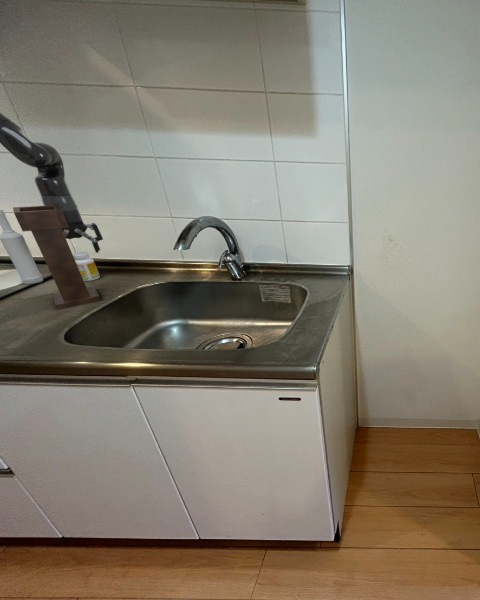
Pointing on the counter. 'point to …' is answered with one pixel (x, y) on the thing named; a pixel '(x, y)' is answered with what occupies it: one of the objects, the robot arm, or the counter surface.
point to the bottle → (19, 252)
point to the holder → (56, 253)
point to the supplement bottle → (86, 266)
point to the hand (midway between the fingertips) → (81, 254)
